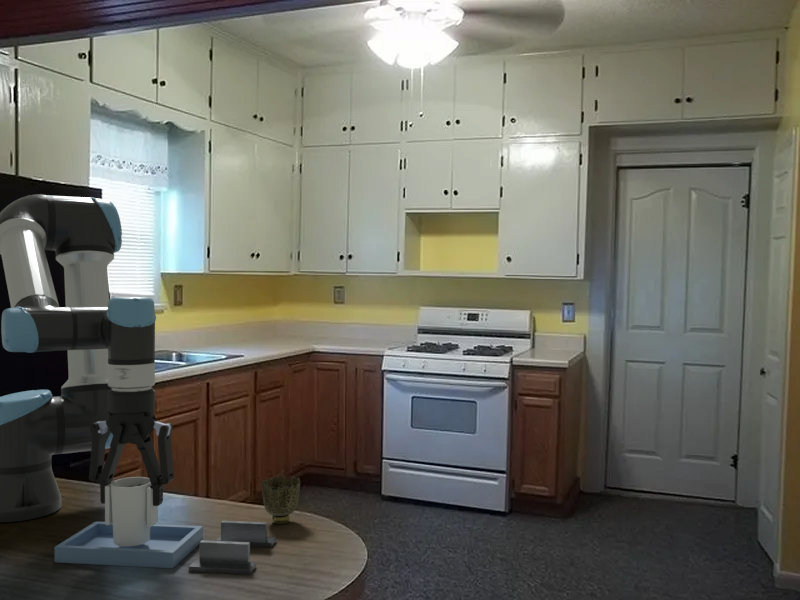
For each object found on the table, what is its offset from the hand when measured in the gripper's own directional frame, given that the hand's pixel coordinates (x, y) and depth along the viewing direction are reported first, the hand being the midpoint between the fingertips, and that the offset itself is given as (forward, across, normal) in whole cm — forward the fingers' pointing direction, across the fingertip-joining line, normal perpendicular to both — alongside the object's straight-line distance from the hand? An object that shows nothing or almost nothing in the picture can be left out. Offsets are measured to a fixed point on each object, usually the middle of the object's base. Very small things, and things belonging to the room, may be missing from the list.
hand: (131, 523), depth 127 cm
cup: (+5, +21, +18) cm, 28 cm away
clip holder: (+5, +18, 0) cm, 19 cm away
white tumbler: (+3, 0, 0) cm, 3 cm away
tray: (+5, 0, 0) cm, 5 cm away
